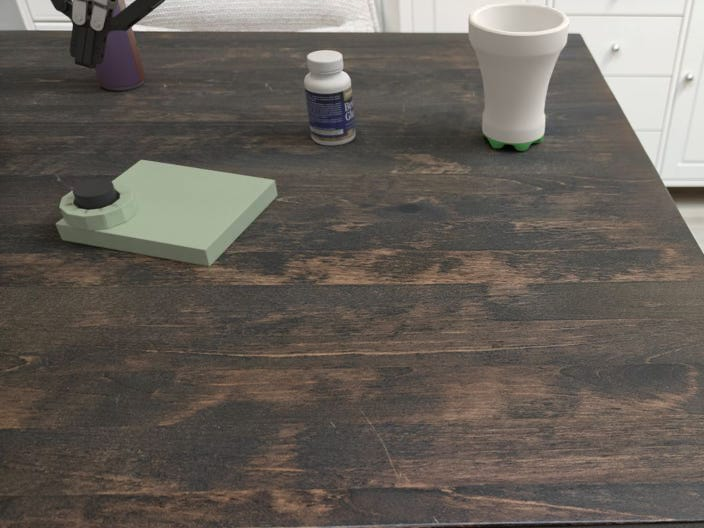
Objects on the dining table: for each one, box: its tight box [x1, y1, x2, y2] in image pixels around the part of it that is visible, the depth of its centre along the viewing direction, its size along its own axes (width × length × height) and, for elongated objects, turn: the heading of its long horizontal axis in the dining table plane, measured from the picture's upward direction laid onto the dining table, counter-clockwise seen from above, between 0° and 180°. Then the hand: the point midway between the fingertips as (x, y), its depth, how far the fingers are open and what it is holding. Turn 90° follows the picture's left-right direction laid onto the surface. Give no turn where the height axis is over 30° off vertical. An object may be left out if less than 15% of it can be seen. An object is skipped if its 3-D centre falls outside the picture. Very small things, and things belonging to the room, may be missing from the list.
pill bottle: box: [303, 49, 356, 147], centre depth 87 cm, size 5×5×10 cm
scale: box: [55, 159, 278, 267], centre depth 75 cm, size 16×14×4 cm
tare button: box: [72, 178, 118, 210], centre depth 71 cm, size 4×4×2 cm
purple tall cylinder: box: [94, 0, 146, 92], centre depth 97 cm, size 6×6×15 cm
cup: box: [467, 1, 570, 152], centre depth 86 cm, size 11×11×14 cm
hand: (85, 66), depth 76 cm, fingers closed
